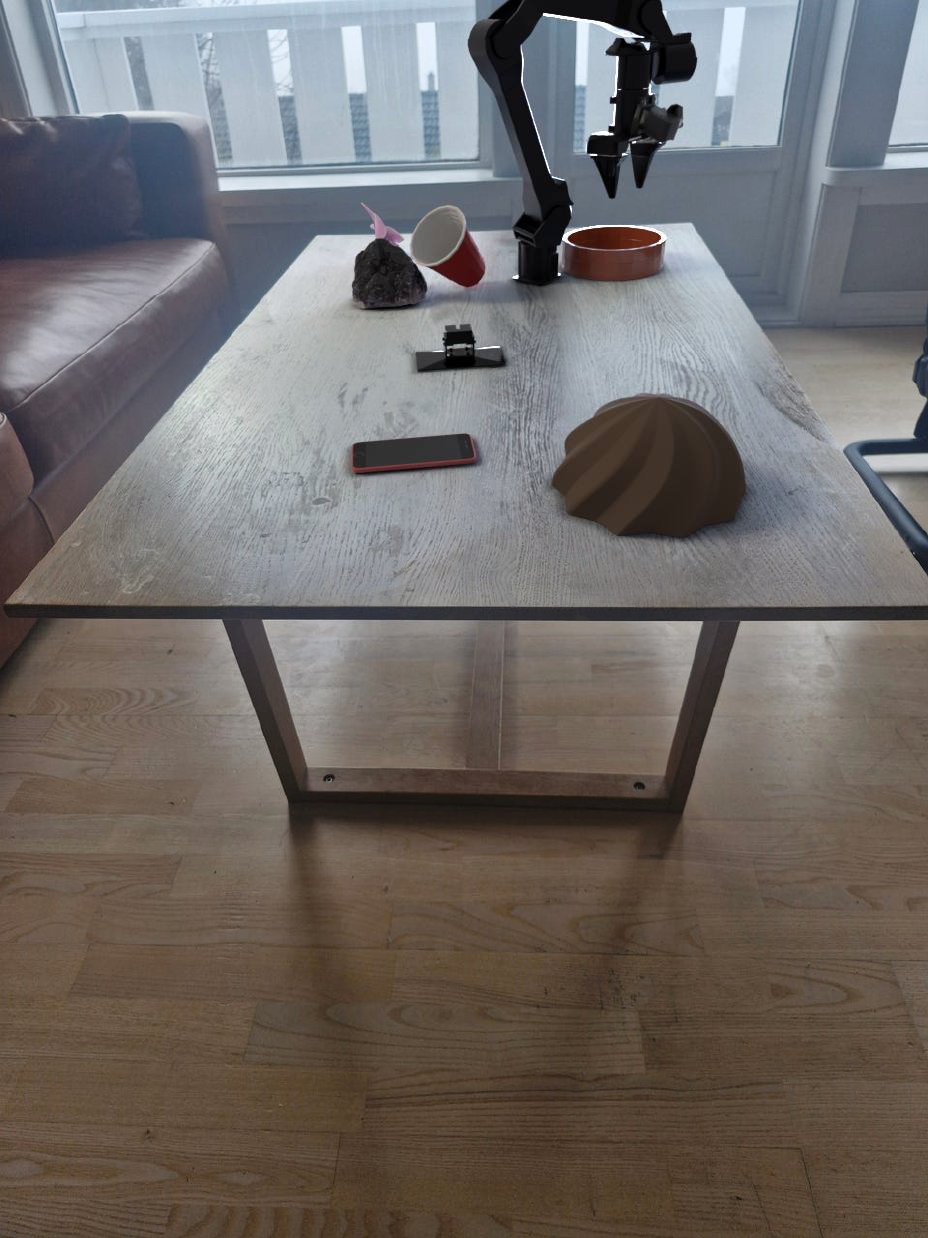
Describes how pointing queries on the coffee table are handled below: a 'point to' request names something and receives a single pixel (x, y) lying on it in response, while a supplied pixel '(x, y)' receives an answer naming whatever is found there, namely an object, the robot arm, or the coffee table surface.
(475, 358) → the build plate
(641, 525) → the decorative dome
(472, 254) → the plastic cup
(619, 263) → the bowl
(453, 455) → the smartphone
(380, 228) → the lily
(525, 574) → the coffee table surface
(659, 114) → the robot arm
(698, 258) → the coffee table surface
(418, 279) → the crystal cluster
